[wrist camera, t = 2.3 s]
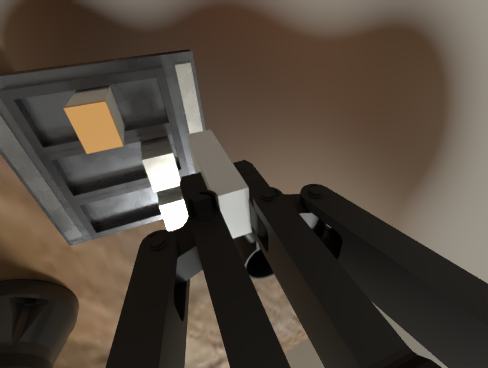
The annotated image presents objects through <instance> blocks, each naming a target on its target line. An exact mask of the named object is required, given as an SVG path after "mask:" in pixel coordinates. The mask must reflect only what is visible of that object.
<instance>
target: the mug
mask: <svg viewBox="0 0 488 368" xmlns="http://www.w3.org/2000/svg"><path fill="white" fill-rule="evenodd" d="M251 226H252V225H251ZM233 240H234V242H235V244H236V247H237V249H238V251H239V253H240V256H241V258H242V260H243V262H244V265H245V267H246V269H247V271H248V274H249V276H250V278H252V279H264V278H268V277H270V276H273V275H275V274H274V272H273V270H272V268H271V267H270V265H269V263H268V261H267V259H266V257H265V255H264V254H263V252H262V250H261V248H260V246H259V250H258V251H257V249H256V237H255V230H254V228H253V226H252V232H251V233H248V234H245V235H242V236H239V237H236V238H233Z"/></svg>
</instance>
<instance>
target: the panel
mask: <svg viewBox="0 0 488 368" xmlns="http://www.w3.org/2000/svg"><path fill="white" fill-rule="evenodd" d="M106 86H110V88H111V90H112V93H113V96H114V98H115V101H116V104H117V106H118V109H119V111H120V114H121V117H122V119H123V122H124V125H125V127H124V146H122V147H117V148H113V149H108V150H103V151H99V152H94V153H89V154H87V153H86V151H85V149H84V147H83V145H82V143H81V141H80V140H79V138H78V136H77V134H76V132H75V130H74V128H73V126H72V124H71V122H70V120H69V118H68V116H67V114H66V112H65V110H64V107H65V106H66V104H67V103H68V101H69V100H70V98H71V97H72V96H73V94H74V93H75V91H80V90H86V89H93V88H99V87H106ZM205 130H206V128H205V122H204V117H203V111H202V106H201V99H200V94H199V88H198V82H197V76H196V71H195V66H194V59H193V53H192V51H191V50H190V49H189V50H181V51H173V52H166V53H158V54H150V55H142V56H135V57H127V58H119V59H111V60H104V61H96V62H88V63H81V64H73V65H65V66H58V67H50V68H42V69H34V70H26V71H19V72H11V73H3V74H0V154H1V155H2V156H3V158H4V159H5V160H6V162H7V163H8V164H9V166H10V167H11V168H12V170H13V171H14V172H15V174H16V175H17V176H18V178H19V179H20V180H21V182H22V183H23V184H24V186H25V187H26V188H27V190H28V191H29V192H30V194H31V195H32V196H33V198H34V199H35V200H36V202H37V203H38V204H39V206H40V207H41V208H42V210H43V211H44V212H45V214H46V215H47V216H48V218H49V219H50V220H51V222H52V223H53V224H54V226H55V227H56V228H57V230H58V231H59V232H60V234H61V235H62V236H63V237H64V239H65V240H66V241H67V243H68V244H69V245H73V244H77V243H80V242H83V241H87V240H90V239H92V240H93V239H96V238H99V237H103V236H106V235H110V234H113V233H116V232H120V231H123V230H127V229H130V228H133V227H137V226H140V225H144V224H147V223H150V222H154V221H157V220H161V219H164V221H165V224H166V227H167V230H168V231H170V230H174V229H177V228H180V227H182V225H183V224H184V223H185V222H186V220H187V217H188V214H187V210H186V207H185V202H184V199H183V195H182V191H181V188H180V184H179V182H180V180H181V177H182V176H186V175H190V174H194V173H195V170H194V166H193V161H192V157H191V152H190V148H189V143H188V139H187V134H191V133H196V132H201V131H205Z"/></svg>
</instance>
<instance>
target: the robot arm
mask: <svg viewBox="0 0 488 368" xmlns="http://www.w3.org/2000/svg"><path fill="white" fill-rule="evenodd" d="M187 139H188V143H189V148H190V152H191V157H192V161H193V166H194V170H195V173H194V174H190V175H186V176H182V177H181V180H180V182H179V184H180V188H181V191H182V195H183V199H184V202H185V207H186V210H187V214H188V217H187V220H186V222H185V223H184V224H183V225H182V227H180V228H179V229H177V230H176V231H174V232H171V231H168V230H159V231H155V232H153V233H151V234H149V235H147V236H146V237H145V238H144V239H143V240H142V242H141V244H140V247H139V250H138V254H137V258H136V261H135V265H134V268H133V272H132V275H131V279H130V282H129V286H128V290H127V293H126V297H125V300H124V304H123V307H122V311H121V315H120V318H119V322H118V325H117V329H116V332H115V336H114V340H113V343H112V347H111V350H110V354H109V357H108V361H107V364H106V368H184V365H185V350H186V334H187V318H188V302H189V287H190V278H191V277H193V276H194V275H196V274H197V273H198V272H200V271H201V270H203V271H204V275H205V278H206V282H207V286H208V289H209V293H210V296H211V300H212V304H213V307H214V311H215V314H216V318H217V322H218V325H219V329H220V332H221V336H222V340H223V343H224V347H225V350H226V354H227V358H228V361H229V365H230V368H290V365H289V363H288V361H287V359H286V356H285V354H284V352H283V350H282V347H281V345H280V343H279V341H278V338H277V336H276V334H275V332H274V330H273V327H272V325H271V323H270V321H269V318H268V316H267V314H266V312H265V309H264V307H263V305H262V303H261V300H260V298H259V296H258V294H257V291H256V289H255V287H254V285H253V283H252V280H251V278H250V276H249V274H248V271H247V269H246V267H245V265H244V262H243V260H242V258H241V256H240V253H239V251H238V249H237V247H236V244H235V242H234V240H233V238H236V237H239V236H242V235H245V234H248V233H251V232H252V226H253V228H254V230H255V237H256V249H257V251H258V250H259V246H260V248H261V250H262V252H263V254H264V255H265V257H266V259H267V261H268V263H269V265H270V267H271V268H272V270H273V272H274V274H275V276H276V278H277V280H278V281H279V283H280V285H281V287H282V289H283V291H284V293H285V294H286V296H287V298H288V300H289V302H290V304H291V306H292V308H293V309H294V311H295V313H296V315H297V317H298V319H299V321H300V322H301V324H302V326H303V328H304V330H305V332H306V334H307V335H308V337H309V339H310V341H311V343H312V345H313V347H314V348H315V350H316V352H317V354H318V356H319V358H320V360H321V361H322V363H323V365H324V367H325V368H441V367H440V366H439V365H437V364H436V363H434V362H433V361H432V360H430V359H427V358H424V357H422V356H419V355H417V354H416V353H414V352H413V351H412V350H411V349H410V348H409V347H408V346H407V345H406V343H405V342H404V341H403V340H402V339H401V337H400V336H399V335H398V334H397V332H396V331H395V330H394V329H393V328H392V326H391V325H390V324H389V323H388V321H387V320H386V319H385V318H384V317H383V316H382V314H381V313H380V312H379V311H378V309H377V308H376V307H375V306H374V304H375V305H376V306H378V307H379V308H380V309H381V310H382V311H383V312H384V313H385V314H387V315H388V316H389V317H390V318H391V319H392V320H394V321H395V322H396V323H397V324H398V325H399V326H401V327H402V328H403V329H404V330H405V331H406V332H408V333H409V334H410V335H411V336H412V337H413V338H415V339H416V340H417V341H418V342H419V343H420V344H421V345H423V346H424V347H425V348H426V349H427V350H428V351H430V352H431V353H432V354H433V355H434V356H435V357H436V358H438V359H439V360H440V361H441V362H442V363H443V364H444V365H446V366H447V367H448V368H488V284H487V283H486V282H484V281H482V280H481V279H479V278H477V277H476V276H474V275H472V274H471V273H469V272H467V271H466V270H464V269H462V268H460V267H459V266H457V265H456V264H454V263H452V262H450V261H449V260H447V259H446V258H444V257H442V256H440V255H439V254H437V253H435V252H434V251H432V250H431V249H429V248H427V247H425V246H424V245H422V244H421V243H419V242H417V241H415V240H414V239H412V238H410V237H409V236H407V235H405V234H404V233H402V232H400V231H399V230H397V229H395V228H394V227H392V226H390V225H388V224H387V223H385V222H384V221H382V220H380V219H379V218H377V217H375V216H374V215H372V214H370V213H369V212H367V211H365V210H364V209H362V208H360V207H359V206H357V205H355V204H354V203H352V202H350V201H349V200H347V199H345V198H344V197H342V196H340V195H339V194H337V193H335V192H333V191H332V190H330V189H328V188H327V187H325V186H322V185H318V184H309V185H306V186H304V187H303V188H302V189H301V192H300V194H291V195H289V194H286V195H285V194H283V193H282V192H281V191H279V190H278V189H276V188H273V187H270V186H269V185H268V184H267V182H266V181H265V180H264V179H263V177H262V176H261V175H260V174H259V172H258V171H257V170H256V168H255V167H254V166H253V165H252V164H251V163H250V162H248V161H246V160H243V161H239V162H235V163H232V161H231V160H230V158H229V157H228V155H227V154H226V152H225V151H224V150H223V148H222V146H221V145H220V143H219V142H218V140H217V139H216V137H215V136H214V134H213V133H212V131H211V130H205V131H201V132H196V133H191V134H187ZM326 224H327V225H329V226H330V227H331V228H330V227H328V226H327V225H326ZM251 225H252V226H251ZM371 301H372V302H373V303H374V304H373V303H372V302H371ZM78 310H79V303H78V300H77V298H76V297H75V296H74V294H73V293H71V292H70V291H69V290H67V289H65V288H63V287H61V286H59V285H56V284H52V283H48V282H43V281H36V280H10V281H2V282H0V368H53V366H54V363H55V361H56V359H57V357H58V356H59V354H60V352H61V350H62V348H63V346H64V344H65V343H66V341H67V339H68V337H69V335H70V333H71V331H72V330H73V328H74V326H75V324H76V321H77V315H78Z"/></svg>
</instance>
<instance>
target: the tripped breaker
mask: <svg viewBox="0 0 488 368" xmlns="http://www.w3.org/2000/svg"><path fill="white" fill-rule="evenodd" d="M64 110H65V112H66V114H67V116H68V118H69V120H70V122H71V124H72V126H73V128H74V130H75V132H76V134H77V136H78V138H79V140H80V141H81V143H82V145H83V147H84V149H85V151H86V153H87V154H89V153H94V152H99V151H103V150H108V149H113V148H117V147H122V146H124V127H125V125H124V122H123V119H122V117H121V114H120V111H119V109H118V106H117V104H116V101H115V98H114V96H113V93H112V90H111V88H110V86H106V87H99V88H93V89H86V90H80V91H75V93H74V94H73V96H72V97H71V98H70V100H69V101H68V103H67V104H66V106H65V107H64Z"/></svg>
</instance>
